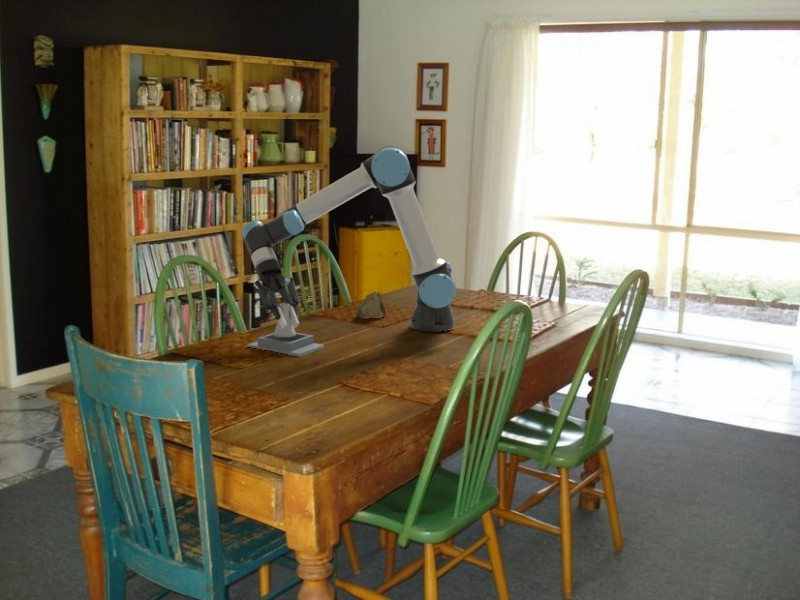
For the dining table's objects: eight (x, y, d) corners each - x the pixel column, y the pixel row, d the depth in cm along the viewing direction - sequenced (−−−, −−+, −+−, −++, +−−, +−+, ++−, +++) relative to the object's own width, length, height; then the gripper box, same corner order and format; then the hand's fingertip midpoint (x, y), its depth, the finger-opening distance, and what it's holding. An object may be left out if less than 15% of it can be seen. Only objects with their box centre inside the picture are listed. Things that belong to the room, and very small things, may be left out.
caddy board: (324, 347, 287) (324, 337, 287) (299, 356, 276) (299, 345, 276) (273, 339, 297) (273, 328, 296) (247, 347, 286) (247, 336, 285)
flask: (292, 339, 282) (292, 307, 280) (269, 337, 283) (269, 305, 281) (299, 333, 289) (299, 302, 287) (277, 332, 290) (277, 301, 288)
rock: (348, 313, 327) (373, 312, 322) (353, 291, 330) (378, 290, 326) (362, 326, 335) (386, 325, 331) (366, 305, 339) (390, 304, 335)
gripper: (286, 269, 299) (310, 329, 289) (239, 273, 290) (262, 335, 280) (293, 256, 294) (318, 316, 284) (246, 259, 285) (270, 322, 275)
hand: (290, 326), depth 282 cm, fingers closed on flask, 3 cm apart
